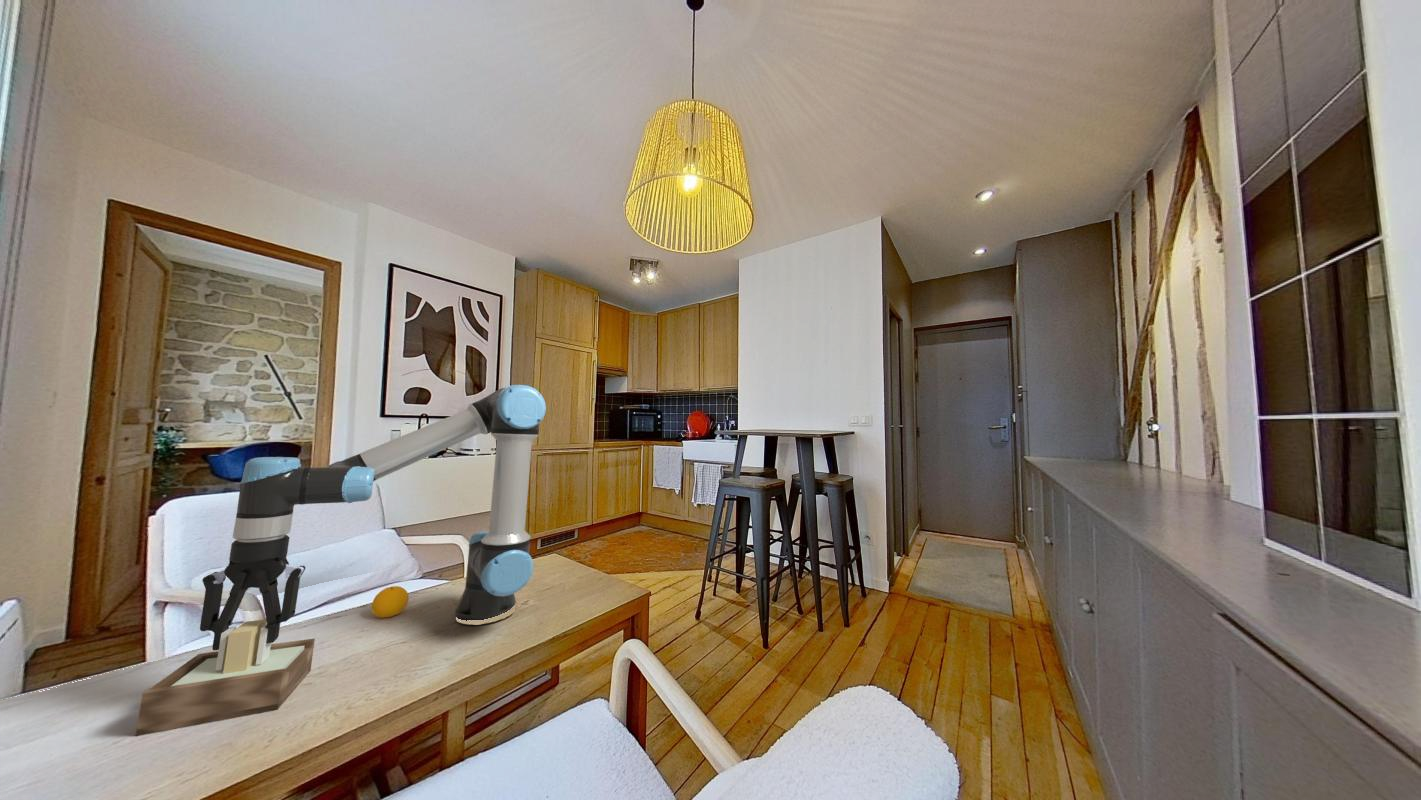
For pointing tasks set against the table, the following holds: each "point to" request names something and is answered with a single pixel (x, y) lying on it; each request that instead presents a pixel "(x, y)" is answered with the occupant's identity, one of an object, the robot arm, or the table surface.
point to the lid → (242, 656)
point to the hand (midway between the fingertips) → (243, 663)
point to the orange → (390, 602)
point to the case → (220, 693)
